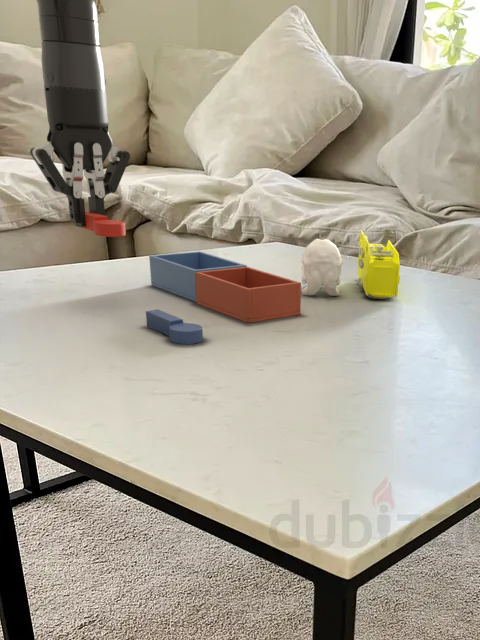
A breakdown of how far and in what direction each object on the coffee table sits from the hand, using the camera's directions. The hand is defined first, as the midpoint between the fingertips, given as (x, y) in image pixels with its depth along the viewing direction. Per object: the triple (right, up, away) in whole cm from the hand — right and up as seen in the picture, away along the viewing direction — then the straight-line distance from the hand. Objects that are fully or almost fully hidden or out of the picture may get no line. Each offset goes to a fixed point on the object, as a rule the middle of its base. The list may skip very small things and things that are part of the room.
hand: (88, 225), depth 108 cm
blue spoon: (+14, -17, -9) cm, 24 cm away
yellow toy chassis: (+40, -3, +22) cm, 45 cm away
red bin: (+21, -10, +5) cm, 24 cm away
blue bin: (+12, -5, +13) cm, 19 cm away
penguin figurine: (+31, -4, +18) cm, 36 cm away
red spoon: (+2, -1, -2) cm, 3 cm away
